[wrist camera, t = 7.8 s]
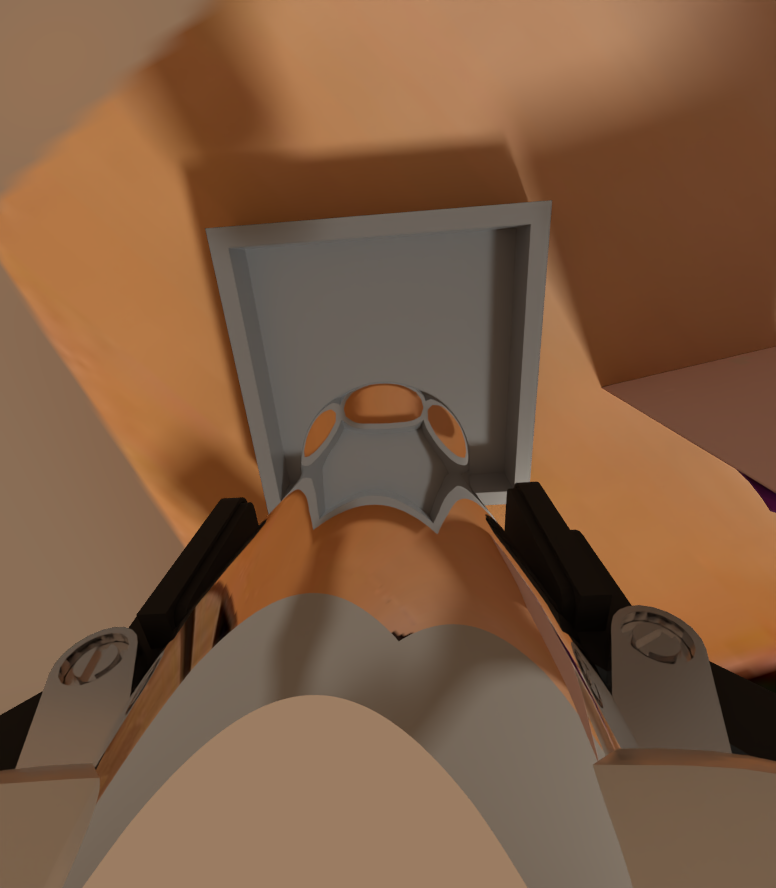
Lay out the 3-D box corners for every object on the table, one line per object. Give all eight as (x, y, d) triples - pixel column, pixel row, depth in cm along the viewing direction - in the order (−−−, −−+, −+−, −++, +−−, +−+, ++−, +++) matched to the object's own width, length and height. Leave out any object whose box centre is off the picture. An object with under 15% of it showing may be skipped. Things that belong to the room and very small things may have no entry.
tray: (531, 208, 24) (552, 200, 21) (514, 478, 31) (528, 502, 28) (229, 232, 25) (205, 228, 22) (281, 491, 32) (269, 516, 29)
